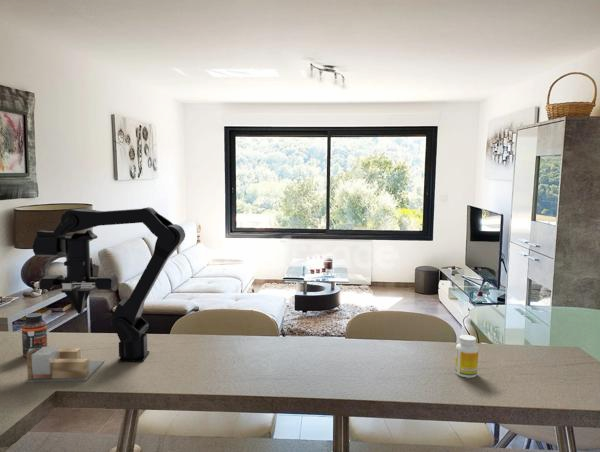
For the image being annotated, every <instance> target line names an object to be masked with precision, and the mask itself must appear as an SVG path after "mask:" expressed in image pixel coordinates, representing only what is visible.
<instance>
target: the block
mask: <svg viewBox="0 0 600 452" xmlns="http://www.w3.org/2000/svg"><path fill="white" fill-rule="evenodd" d="M59 349H60V359H56V360H55V361H54V362H52V363H51V367H52V373H51V374H35V375H33V374H32V354H34V353H35V352H36V351H37V349H32V350H31V351H29V352H28V353H27V357H26V364H27V365H26V367H27V380H28V379H38V378H86V377H87V376H88V375H89V361H90V359H89V358H82V357H81V348H77V347H75V348H73V347H72V348H59Z"/></svg>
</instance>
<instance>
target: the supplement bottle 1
mask: <svg viewBox="0 0 600 452" xmlns="http://www.w3.org/2000/svg"><path fill="white" fill-rule="evenodd" d="M24 321H25V322H24V323H22V325H21V340H22V342H21V343H22V355H23V357H25V358H27V353H28V352H29V351H31V350H32V349H37V351H38V350H39V349H41V348H42V347H48V332H47V322H46V321H45V320H43V313H40V312H34V313H28V314H26V315H25V319H24Z"/></svg>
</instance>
